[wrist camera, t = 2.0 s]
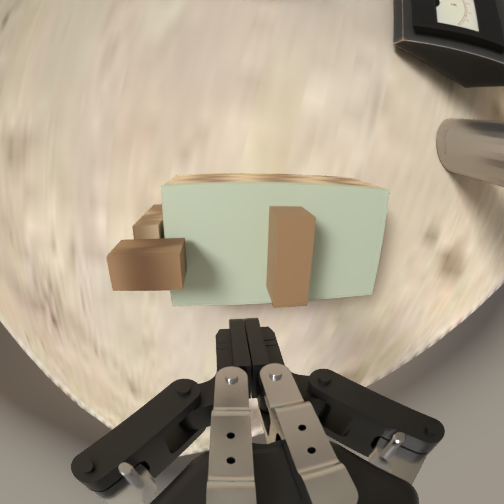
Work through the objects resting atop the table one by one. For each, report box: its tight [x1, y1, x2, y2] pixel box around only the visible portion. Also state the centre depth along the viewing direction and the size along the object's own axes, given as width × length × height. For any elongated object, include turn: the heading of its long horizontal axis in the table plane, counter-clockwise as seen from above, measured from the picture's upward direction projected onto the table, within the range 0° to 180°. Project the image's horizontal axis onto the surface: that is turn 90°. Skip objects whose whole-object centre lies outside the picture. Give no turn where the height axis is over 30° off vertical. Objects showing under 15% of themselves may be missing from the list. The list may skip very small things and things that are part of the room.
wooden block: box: [107, 238, 187, 291], centre depth 23 cm, size 6×3×4 cm, turn 89°
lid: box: [161, 182, 389, 308], centre depth 25 cm, size 22×12×6 cm, turn 89°
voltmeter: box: [393, 0, 504, 88], centre depth 17 cm, size 16×16×20 cm
